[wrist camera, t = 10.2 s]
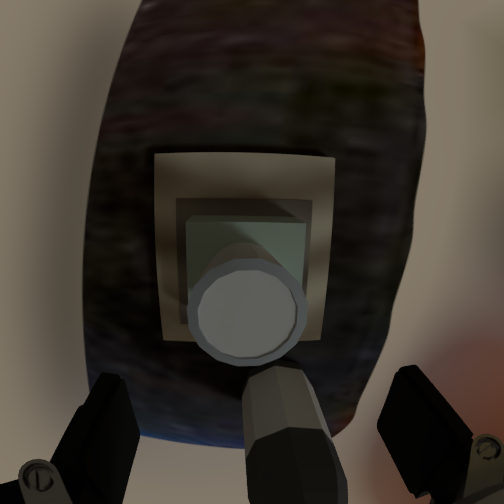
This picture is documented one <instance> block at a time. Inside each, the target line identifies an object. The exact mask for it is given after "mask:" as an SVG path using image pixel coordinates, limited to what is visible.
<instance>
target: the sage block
mask: <svg viewBox="0 0 504 504" xmlns="http://www.w3.org/2000/svg"><path fill="white" fill-rule="evenodd" d="M305 235H306V223H305V222H303V221H302V220H300V219H298V218H297V217H284V216H229V215H193V216H191V217H190V218H189V219H188V220H187V221H186V260H187V285H188V302H189V299H190V296H191V294H192V291H193V288H194V286H195V284H196V283H197V281H198V280H199V278H200V277H201V275H202V274H203V272H204V271H205V269H206V268H207V266H208V265H209V263H210V262H211V260H212V259H213V258H214V257H215V256H216V255H217V254H218V252H219V251H220V250H221V249H223V248H225V247H227V246H230V245H232V244H234V243H253V244H256V245H258V246H261V247H263V248H265V249H266V250H267V251H268V252H269V253H270V254H271V255H272V256H273V257H274V258H275V259H276V260H277V261H278V262H279V263H280V264H281V265H282V266H283V267H284V268H285V269H286V270H287V271H288V272H289V273H290V274H291V275H292V276H293V277H294V278H295V279H296V280H297V281H298V282H299V283H300V284H301V287H302V279H303V266H304V251H305Z"/></svg>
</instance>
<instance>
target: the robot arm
mask: <svg viewBox="0 0 504 504" xmlns="http://www.w3.org/2000/svg"><path fill="white" fill-rule="evenodd" d="M377 429H378V432H379V433H380V435H381V437H382V439H383V441H384V443H385V445H386V447H387V449H388V451H389V453H390V455H391V457H392V459H393V461H394V463H395V465H396V466H397V468H398V471H399V472H400V475H401V477H402V478H403V480H404V483H405V485H406V487H407V489H408V490H409V492H410V493H413V494H414V496H415V498H419V497H422V496H424V495H427V494H428V493H430V495H431V501H430V504H504V445H503V443H502V441H501V440H500V439H499V438H497V437H496V436H493V435H490V434H482V435H479V436H478V437H476V438H475V439H474V440H473V439H472V438H471V437H472V436H473V433H472V432H471V430H470V429H469V428H468V427H467V425H466V424H465V423H464V422H463V420H462V419H461V418H460V417H459V415H458V414H457V413H456V412H455V410H454V409H453V408H452V407H451V406H450V404H449V403H448V402H447V401H446V399H445V398H444V397H443V396H442V395H441V393H440V392H439V391H438V390H437V389H436V388H435V386H434V385H433V384H432V383H431V382H430V380H429V379H428V378H427V377H426V376H425V375H424V373H423V372H422V371H421V370H420V369H419V367H418V366H416V365H409V366H404V367H401V368H400V369H399V371H398V372H396V373H395V375H394V379H393V381H392V384H391V387H390V390H389V393H388V396H387V398H386V401H385V404H384V406H383V409H382V411H381V414H380V416H379V419H378V421H377ZM139 439H140V431H139V427H138V424H137V421H136V418H135V415H134V412H133V408H132V405H131V401H130V398H129V394H128V391H127V387H126V383H125V380H124V379H120V376H119V375H118V374H111V373H104V372H103V373H101V374H100V376H99V378H98V379H97V381H96V383H95V385H94V386H93V388H92V390H91V392H90V394H89V395H88V397H87V399H86V401H85V403H84V404H83V405H81V406H79V408H78V409H77V411H76V412H75V414H74V416H73V418H72V420H71V422H70V423H69V425H68V427H67V429H66V431H65V433H64V435H63V437H62V438H61V440H60V443H59V445H58V447H57V448H56V450H55V452H54V454H53V456H52V458H51V460H50V462H48V461H46V460H42V459H34V460H31V461H28V462H26V463H25V464H24V465H23V466H22V467H21V469H20V470H19V475H18V479H17V480H14V481H10V482H7V483H3V484H0V504H122V502H123V499H124V495H125V491H126V487H127V483H128V479H129V476H130V472H131V468H132V464H133V460H134V457H135V454H136V450H137V446H138V443H139Z"/></svg>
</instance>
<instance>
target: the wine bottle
mask: <svg viewBox="0 0 504 504" xmlns="http://www.w3.org/2000/svg"><path fill="white" fill-rule="evenodd" d="M242 410H243V427H244V444H245V459H246V475H247V489H248V499H249V502H250V504H348V489H347V479H346V477H345V474H344V471H343V468H342V466H341V463H340V460H339V457H338V455H337V452H336V449H335V446H334V444H333V441H332V438H331V436H330V433H329V430H328V427H327V425H326V422H325V419H324V417H323V414H322V411H321V408H320V406H319V403H318V400H317V398H316V395H315V392H314V390H313V387H312V385H311V382H310V381H309V379H308V378H307V376H306V374H305V373H304V371H303V370H302V368H301V366H300V365H299V363H296V362H290V361H284V360H278V359H276V360H273V361H270V362H268V363H265V364H262V365H260V366H257V367H255V368H253V369H250V370H249V372H248V375H247V378H246V381H245V383H244V386H243V389H242Z"/></svg>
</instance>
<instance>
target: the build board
mask: <svg viewBox="0 0 504 504" xmlns="http://www.w3.org/2000/svg"><path fill="white" fill-rule="evenodd" d="M334 178H335V158H330V157H318V156H306V155H291V154H271V153H240V152H192V153H161V154H155V161H154V213H155V244H156V263H157V278H158V291H159V303H160V313H161V323H162V332H163V340H170V341H194V342H196V340H195V338H194V337H193V335H192V333H191V331H190V330H189V326H188V316H187V305H188V285H187V260H186V221H187V220H188V219H189V218H190V217H191V216H193V215H229V216H284V217H297V218H298V219H300V220H302V221H303V222H305V223H306V235H305V251H304V266H303V279H302V289H303V292H304V295H305V297H306V300H307V302H308V311H307V325H306V327H305V329H304V331H303V333H302V334H301V336H300V338H299V340H298V341H306V340H320V337H321V329H322V322H323V314H324V306H325V297H326V288H327V279H328V268H329V258H330V246H331V233H332V218H333V200H334Z"/></svg>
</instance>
